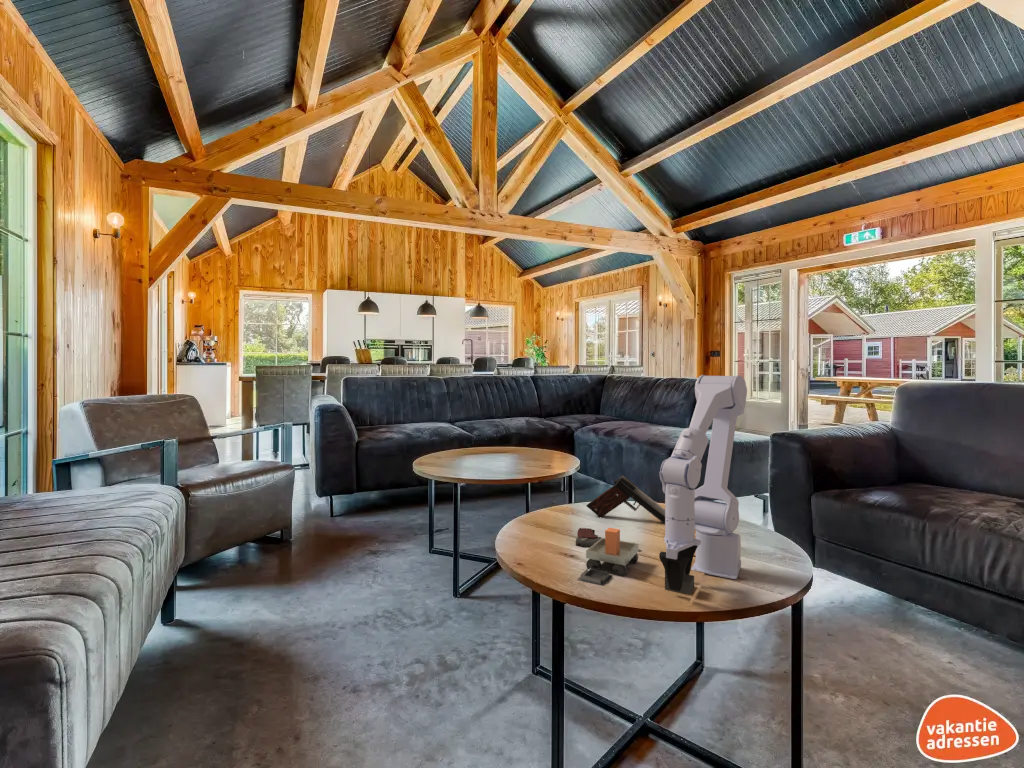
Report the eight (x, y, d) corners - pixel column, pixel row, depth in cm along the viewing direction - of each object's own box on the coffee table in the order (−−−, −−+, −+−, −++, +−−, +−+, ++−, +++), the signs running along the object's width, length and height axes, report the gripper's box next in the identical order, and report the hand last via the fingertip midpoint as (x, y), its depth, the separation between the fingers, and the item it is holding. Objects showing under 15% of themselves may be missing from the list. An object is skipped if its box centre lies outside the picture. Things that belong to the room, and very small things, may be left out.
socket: (613, 577, 112) (613, 571, 112) (603, 588, 107) (603, 581, 107) (587, 572, 115) (587, 566, 115) (576, 582, 110) (576, 576, 110)
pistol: (633, 539, 139) (636, 554, 127) (577, 535, 142) (575, 550, 130) (633, 529, 139) (636, 544, 127) (577, 526, 142) (575, 540, 130)
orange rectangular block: (619, 550, 118) (619, 529, 118) (616, 554, 116) (616, 532, 116) (609, 548, 119) (609, 527, 119) (605, 552, 117) (605, 530, 117)
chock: (694, 590, 106) (694, 566, 106) (690, 597, 102) (690, 573, 102) (669, 585, 108) (669, 561, 108) (664, 592, 105) (664, 568, 105)
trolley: (638, 563, 120) (638, 543, 120) (625, 579, 111) (624, 557, 111) (601, 556, 124) (601, 537, 124) (586, 571, 116) (586, 550, 116)
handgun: (647, 557, 151) (678, 519, 148) (585, 506, 158) (614, 468, 154) (648, 553, 154) (679, 516, 150) (588, 503, 161) (616, 467, 157)
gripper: (693, 529, 97) (692, 600, 97) (706, 510, 109) (706, 574, 109) (655, 523, 100) (655, 592, 101) (672, 506, 113) (672, 567, 113)
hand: (679, 582), depth 105 cm, fingers open, 7 cm apart
